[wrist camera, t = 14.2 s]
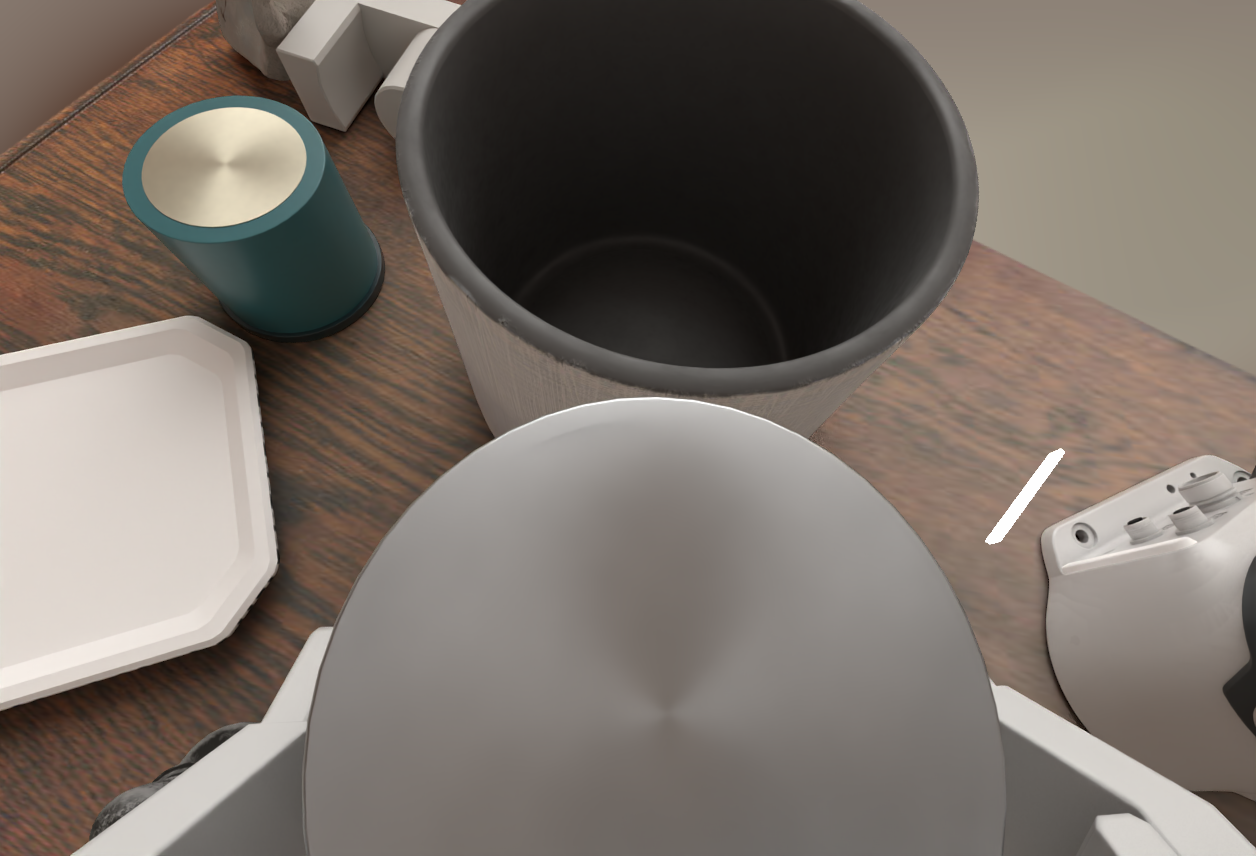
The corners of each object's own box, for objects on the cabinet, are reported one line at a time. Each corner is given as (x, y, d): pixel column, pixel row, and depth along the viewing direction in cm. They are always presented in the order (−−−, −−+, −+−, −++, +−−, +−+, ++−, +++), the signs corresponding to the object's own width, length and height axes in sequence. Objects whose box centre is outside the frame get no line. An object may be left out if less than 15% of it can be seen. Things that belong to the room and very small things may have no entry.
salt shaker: (283, 865, 30) (106, 991, 19) (184, 811, 30) (-46, 900, 19) (351, 745, 32) (229, 793, 21) (257, 695, 33) (89, 716, 21)
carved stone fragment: (232, 120, 48) (217, 8, 48) (339, 131, 51) (323, 27, 52) (199, -40, 34) (179, -190, 35) (346, -10, 38) (325, -146, 39)
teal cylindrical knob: (344, 189, 45) (282, 66, 36) (412, 296, 42) (364, 193, 33) (195, 251, 42) (85, 135, 33) (258, 370, 39) (157, 281, 30)
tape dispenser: (580, 110, 49) (581, 40, 44) (539, 194, 46) (533, 130, 40) (366, 44, 50) (340, -34, 44) (310, 121, 47) (273, 48, 41)
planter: (711, 598, 36) (854, 535, 17) (406, 413, 39) (245, 186, 20) (852, 324, 44) (1055, 76, 25) (590, 185, 46) (597, -130, 28)
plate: (-96, 396, 37) (-136, 380, 35) (260, 318, 40) (243, 300, 38) (-127, 756, 30) (-179, 763, 28) (301, 624, 34) (283, 623, 32)
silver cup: (567, 485, 14) (554, 300, 7) (807, 622, 14) (1080, 581, 6) (402, 747, 12) (123, 887, 5) (679, 927, 11) (865, 1431, 4)
